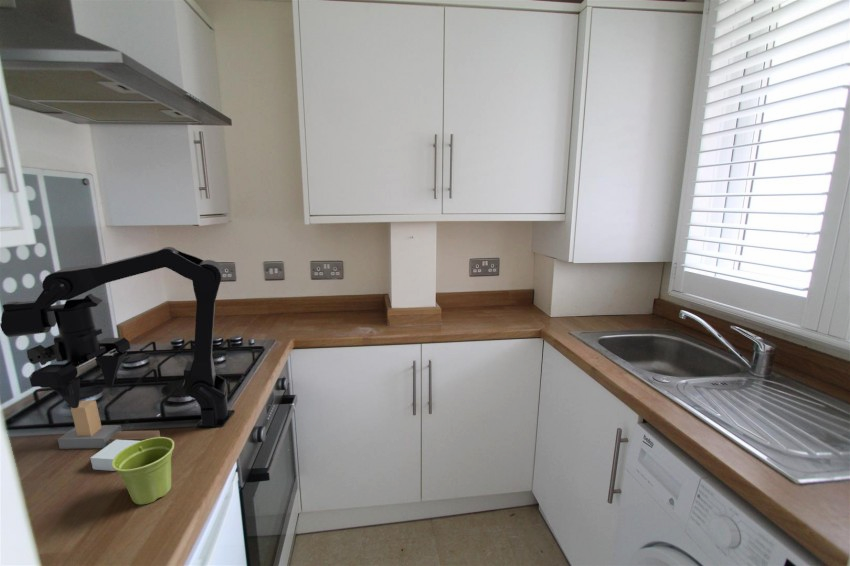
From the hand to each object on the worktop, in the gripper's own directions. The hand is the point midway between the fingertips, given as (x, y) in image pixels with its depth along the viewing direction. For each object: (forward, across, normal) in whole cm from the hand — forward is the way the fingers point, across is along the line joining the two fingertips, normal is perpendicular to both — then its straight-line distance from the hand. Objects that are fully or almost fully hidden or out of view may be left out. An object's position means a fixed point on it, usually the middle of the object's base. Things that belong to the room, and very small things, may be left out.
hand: (93, 396), depth 85 cm
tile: (+12, +6, +8) cm, 15 cm away
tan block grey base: (+12, -1, -4) cm, 12 cm away
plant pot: (+12, +15, +21) cm, 28 cm away
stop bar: (+12, +1, +8) cm, 14 cm away
